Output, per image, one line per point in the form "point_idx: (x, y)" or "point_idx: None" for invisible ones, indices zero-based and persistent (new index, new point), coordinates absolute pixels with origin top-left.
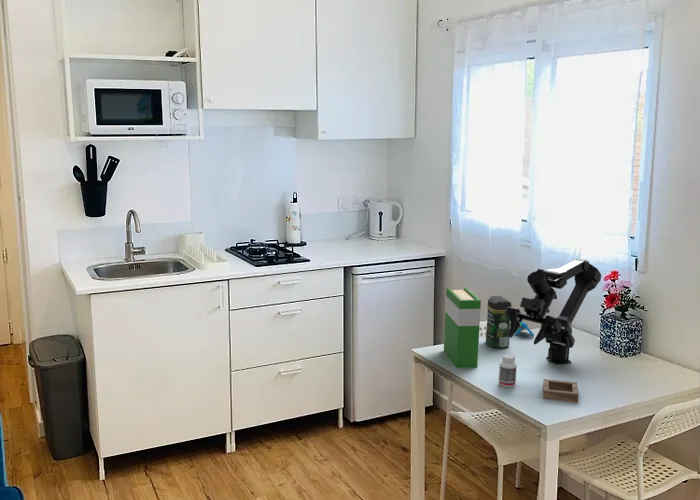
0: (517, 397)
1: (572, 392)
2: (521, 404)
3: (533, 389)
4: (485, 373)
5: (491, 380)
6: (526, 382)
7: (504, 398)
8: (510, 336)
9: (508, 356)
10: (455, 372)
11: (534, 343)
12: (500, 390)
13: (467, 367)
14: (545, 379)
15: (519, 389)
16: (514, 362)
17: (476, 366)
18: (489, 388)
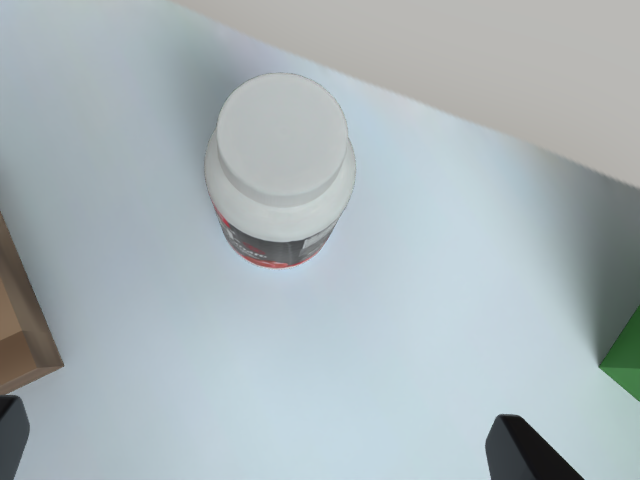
0: (125, 81)
1: None
2: (59, 7)
3: (98, 267)
4: (490, 302)
5: (391, 217)
6: (196, 353)
7: (180, 22)
8: (496, 424)
9: (281, 123)
10: (621, 183)
11: (6, 400)
12: None
13: (635, 313)
14: (18, 367)
15: (175, 203)
16: (239, 202)
17: (606, 362)
18: None
